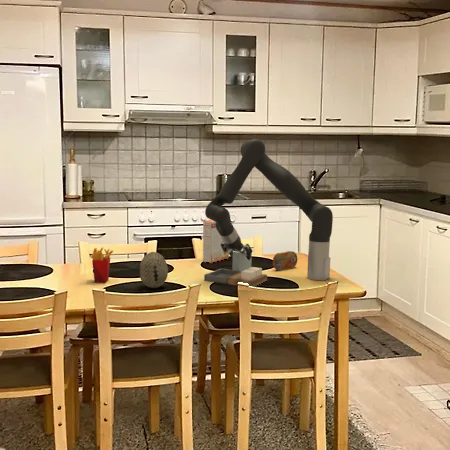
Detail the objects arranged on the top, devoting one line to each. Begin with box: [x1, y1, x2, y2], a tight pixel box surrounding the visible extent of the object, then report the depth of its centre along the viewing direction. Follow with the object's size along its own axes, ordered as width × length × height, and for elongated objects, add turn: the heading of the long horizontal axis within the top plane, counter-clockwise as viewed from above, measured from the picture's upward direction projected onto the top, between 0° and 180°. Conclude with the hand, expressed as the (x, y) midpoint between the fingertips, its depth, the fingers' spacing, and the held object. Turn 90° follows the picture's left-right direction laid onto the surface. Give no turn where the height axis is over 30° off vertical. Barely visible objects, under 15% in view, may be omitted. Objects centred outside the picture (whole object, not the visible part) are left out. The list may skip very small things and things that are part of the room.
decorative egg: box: [138, 251, 169, 289], centre depth 253 cm, size 12×12×15 cm
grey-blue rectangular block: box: [231, 248, 253, 271], centre depth 286 cm, size 4×12×10 cm, turn 150°
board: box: [226, 272, 268, 287], centre depth 266 cm, size 12×14×3 cm
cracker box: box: [202, 219, 230, 264], centre depth 307 cm, size 14×6×21 cm, turn 141°
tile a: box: [248, 266, 263, 277], centre depth 267 cm, size 4×4×3 cm
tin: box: [272, 250, 298, 271], centre depth 294 cm, size 15×3×8 cm, turn 131°
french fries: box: [91, 246, 114, 284], centre depth 260 cm, size 9×8×15 cm
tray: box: [203, 267, 241, 285], centre depth 272 cm, size 11×15×3 cm
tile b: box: [241, 269, 256, 280], centre depth 262 cm, size 4×4×3 cm
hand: (241, 257), depth 285 cm, fingers open, 8 cm apart
